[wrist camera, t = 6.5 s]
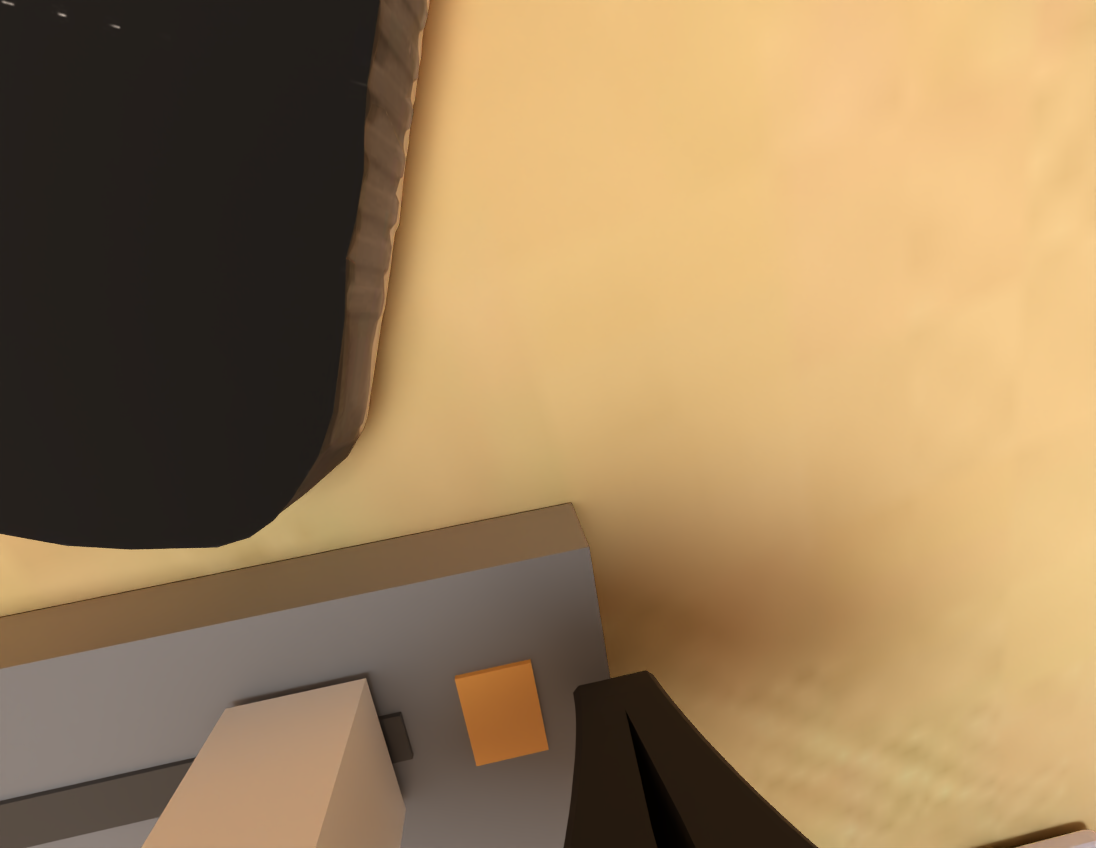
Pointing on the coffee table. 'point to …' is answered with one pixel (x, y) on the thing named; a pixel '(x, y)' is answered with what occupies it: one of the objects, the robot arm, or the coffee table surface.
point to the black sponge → (192, 256)
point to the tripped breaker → (289, 778)
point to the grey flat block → (317, 681)
